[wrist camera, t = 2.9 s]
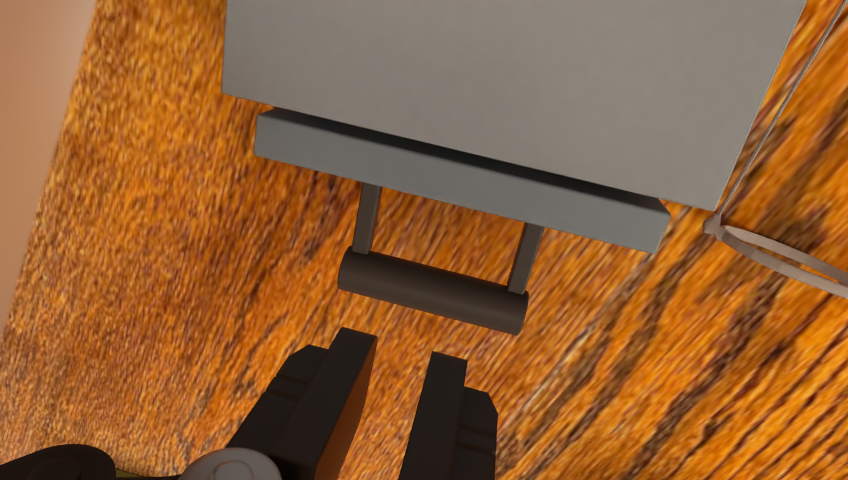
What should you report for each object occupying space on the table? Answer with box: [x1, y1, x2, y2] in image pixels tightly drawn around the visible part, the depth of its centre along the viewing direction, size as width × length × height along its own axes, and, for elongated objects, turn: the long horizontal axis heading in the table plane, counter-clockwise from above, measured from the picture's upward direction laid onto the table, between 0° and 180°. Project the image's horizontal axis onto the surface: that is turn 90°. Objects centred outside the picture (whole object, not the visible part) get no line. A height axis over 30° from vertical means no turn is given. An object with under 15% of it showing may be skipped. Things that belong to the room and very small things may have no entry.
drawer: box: [254, 107, 671, 336], centre depth 17 cm, size 18×11×8 cm, turn 168°
